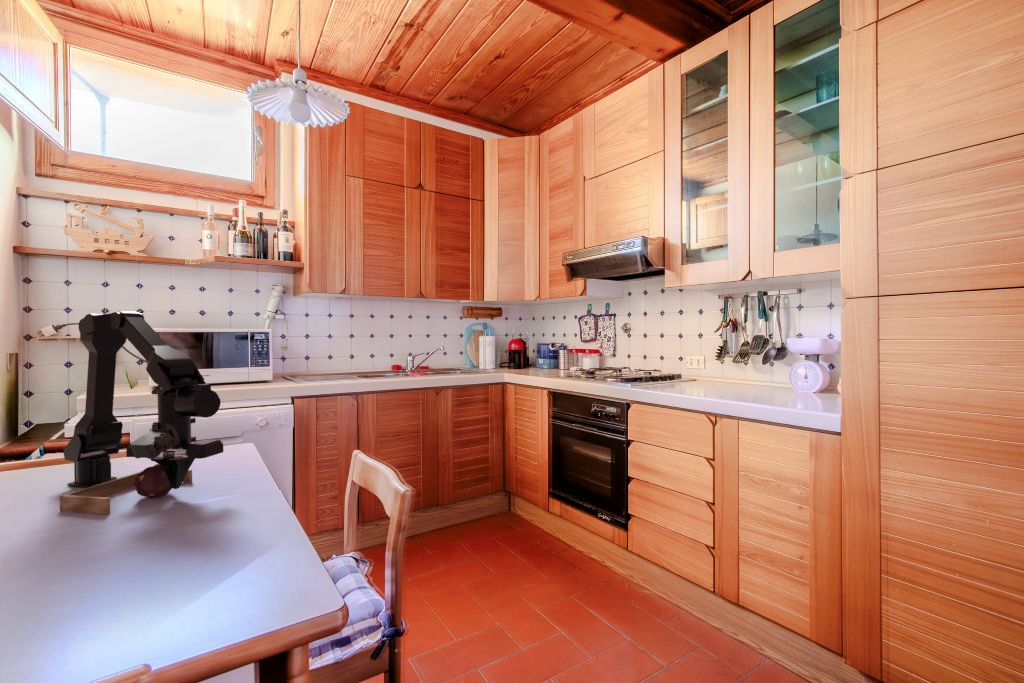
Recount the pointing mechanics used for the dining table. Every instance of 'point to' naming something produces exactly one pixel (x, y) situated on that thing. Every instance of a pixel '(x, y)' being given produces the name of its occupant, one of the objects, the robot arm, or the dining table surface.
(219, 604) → the dining table surface
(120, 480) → the holder
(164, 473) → the icecream
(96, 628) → the dining table surface
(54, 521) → the dining table surface
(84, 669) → the dining table surface
